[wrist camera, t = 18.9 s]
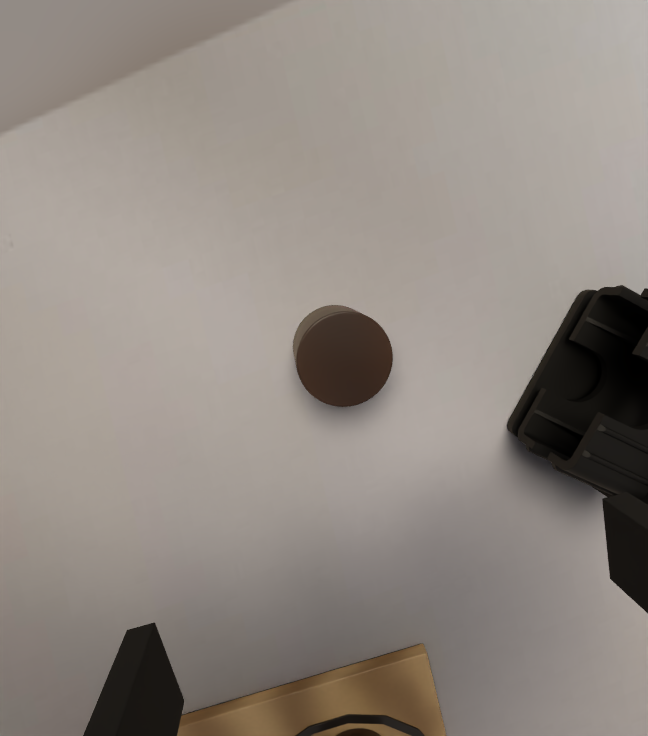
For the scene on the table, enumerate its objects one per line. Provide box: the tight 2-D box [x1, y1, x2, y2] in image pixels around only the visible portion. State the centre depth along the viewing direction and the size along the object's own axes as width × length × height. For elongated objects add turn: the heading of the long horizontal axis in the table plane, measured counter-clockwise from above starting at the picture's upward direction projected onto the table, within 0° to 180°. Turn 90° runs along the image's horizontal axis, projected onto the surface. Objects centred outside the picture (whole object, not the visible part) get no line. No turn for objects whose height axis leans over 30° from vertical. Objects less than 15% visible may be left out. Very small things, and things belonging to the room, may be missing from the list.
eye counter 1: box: [293, 305, 393, 407], centre depth 22 cm, size 4×4×4 cm
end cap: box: [508, 285, 648, 505], centre depth 23 cm, size 10×7×7 cm
